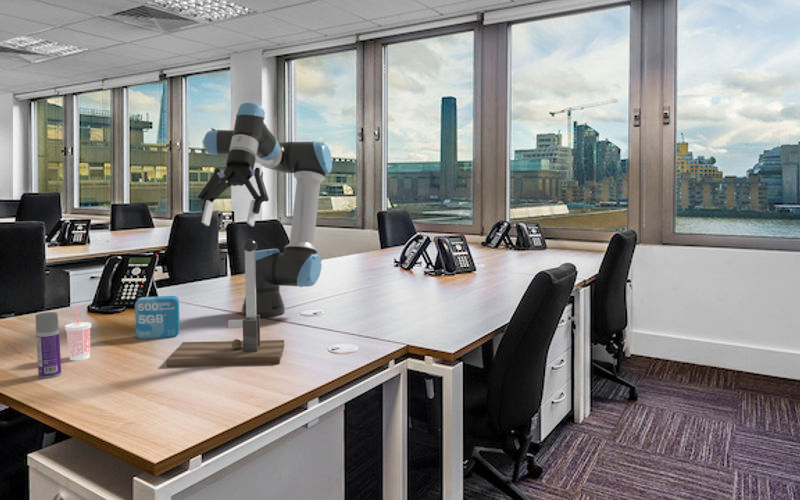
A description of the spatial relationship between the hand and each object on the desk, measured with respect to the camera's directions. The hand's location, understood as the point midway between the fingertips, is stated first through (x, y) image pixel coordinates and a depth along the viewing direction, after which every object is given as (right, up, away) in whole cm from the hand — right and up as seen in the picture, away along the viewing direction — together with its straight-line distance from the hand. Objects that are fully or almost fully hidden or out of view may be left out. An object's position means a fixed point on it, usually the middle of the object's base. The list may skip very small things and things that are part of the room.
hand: (227, 224), depth 152 cm
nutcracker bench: (0, -36, +1) cm, 36 cm away
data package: (-27, -33, +20) cm, 48 cm away
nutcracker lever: (+4, -28, 0) cm, 28 cm away
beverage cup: (-39, -36, -2) cm, 53 cm away
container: (-38, -37, -16) cm, 56 cm away
